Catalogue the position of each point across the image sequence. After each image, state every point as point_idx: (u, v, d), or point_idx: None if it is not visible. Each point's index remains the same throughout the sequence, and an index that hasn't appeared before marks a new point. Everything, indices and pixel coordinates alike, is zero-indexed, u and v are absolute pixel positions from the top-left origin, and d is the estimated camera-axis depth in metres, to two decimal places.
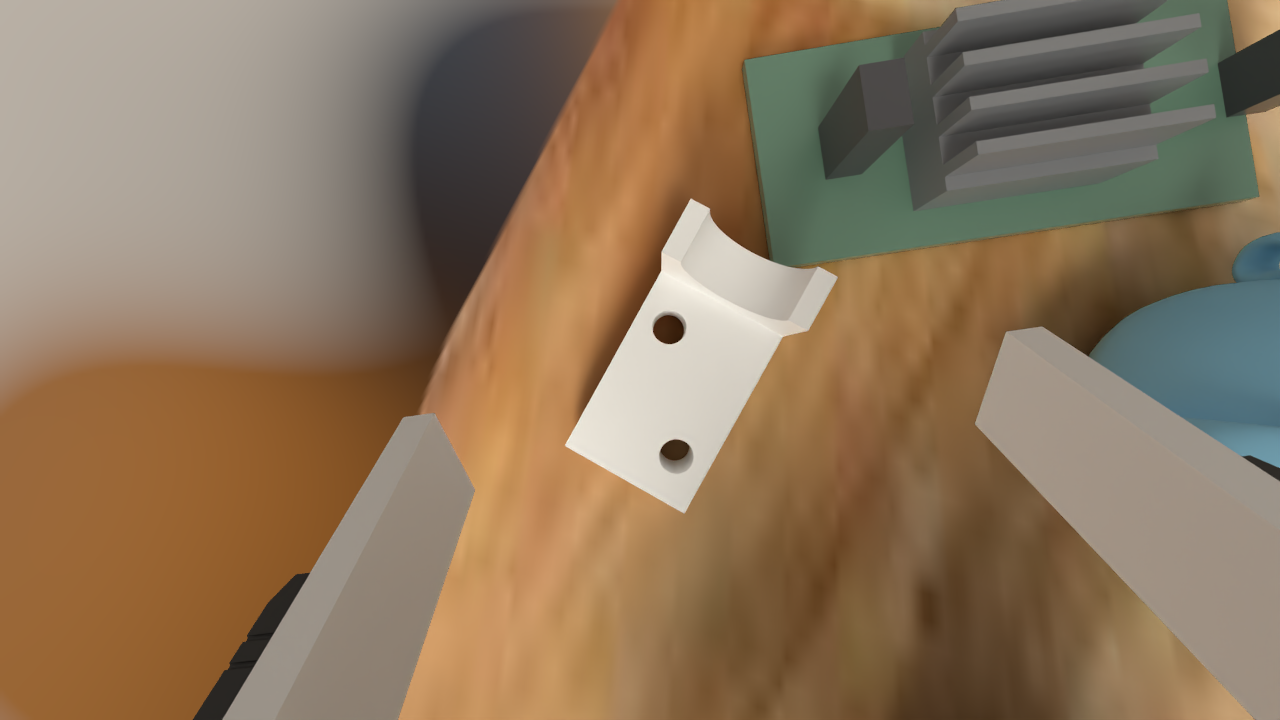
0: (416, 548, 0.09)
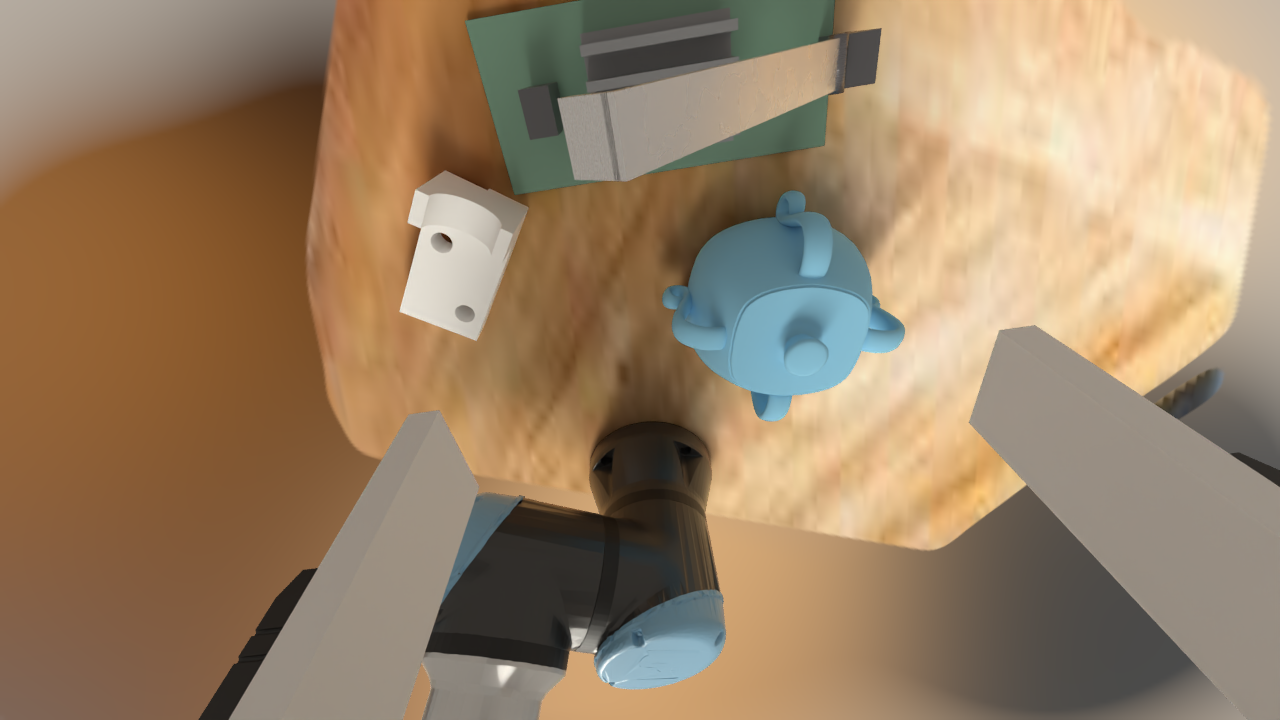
0: (422, 544, 0.09)
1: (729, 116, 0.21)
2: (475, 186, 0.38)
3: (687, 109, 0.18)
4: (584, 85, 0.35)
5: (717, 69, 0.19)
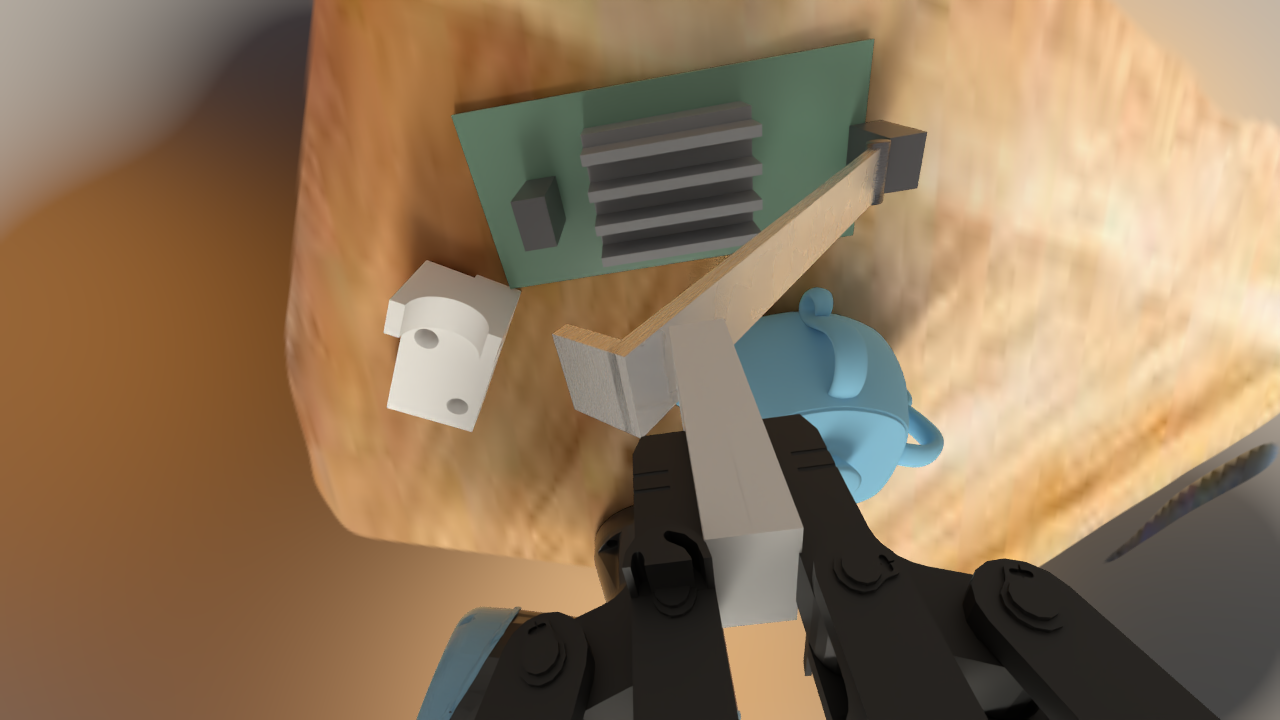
0: None
1: (762, 296, 0.17)
2: (461, 275, 0.34)
3: (714, 318, 0.15)
4: (586, 178, 0.31)
5: (750, 256, 0.15)
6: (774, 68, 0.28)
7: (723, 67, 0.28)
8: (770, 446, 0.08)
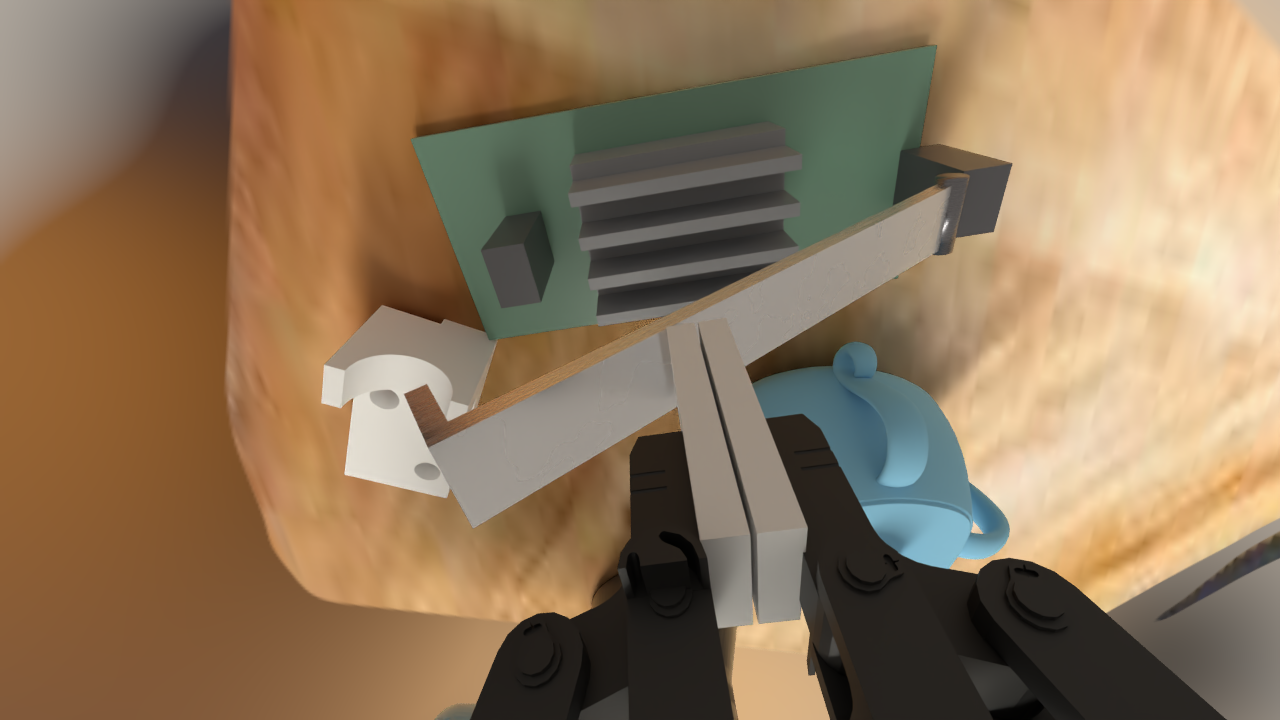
0: None
1: None
2: (423, 322, 0.29)
3: (602, 400, 0.12)
4: (578, 214, 0.26)
5: None
6: (811, 81, 0.22)
7: (748, 80, 0.22)
8: (773, 445, 0.08)
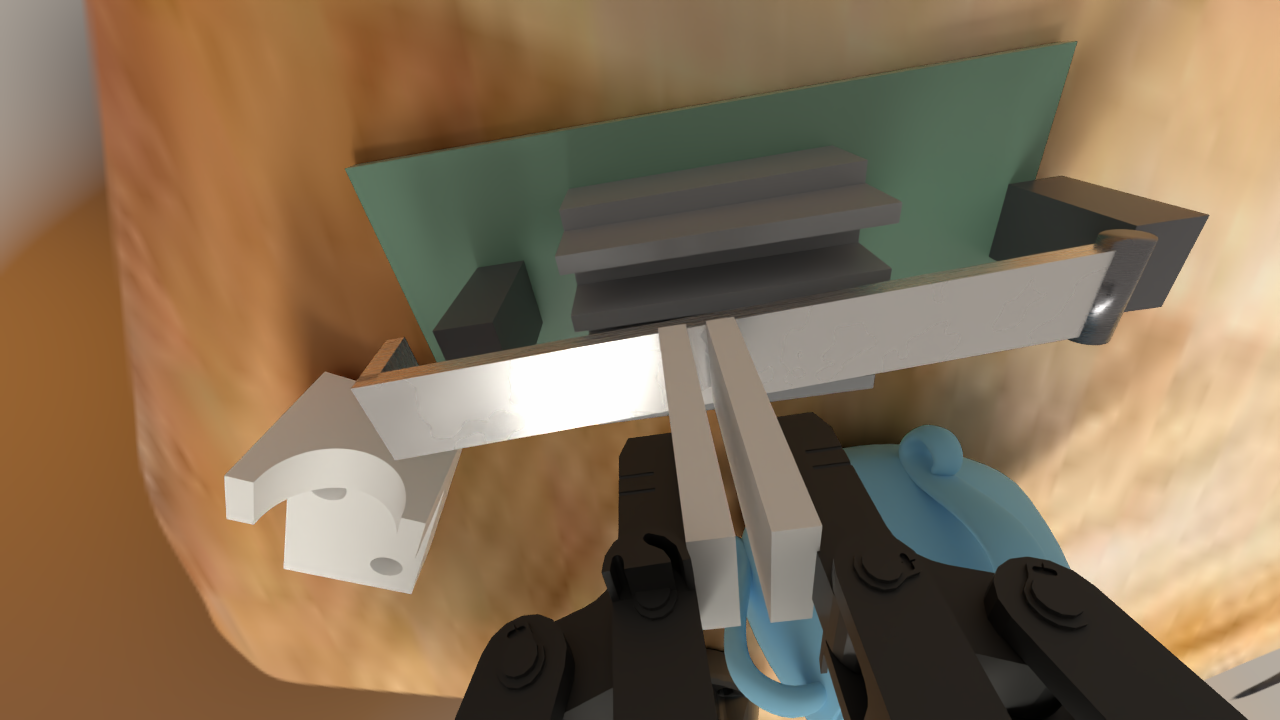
0: None
1: (630, 396, 0.14)
2: None
3: (513, 395, 0.13)
4: None
5: (588, 348, 0.13)
6: (896, 91, 0.16)
7: (808, 90, 0.16)
8: (785, 444, 0.08)
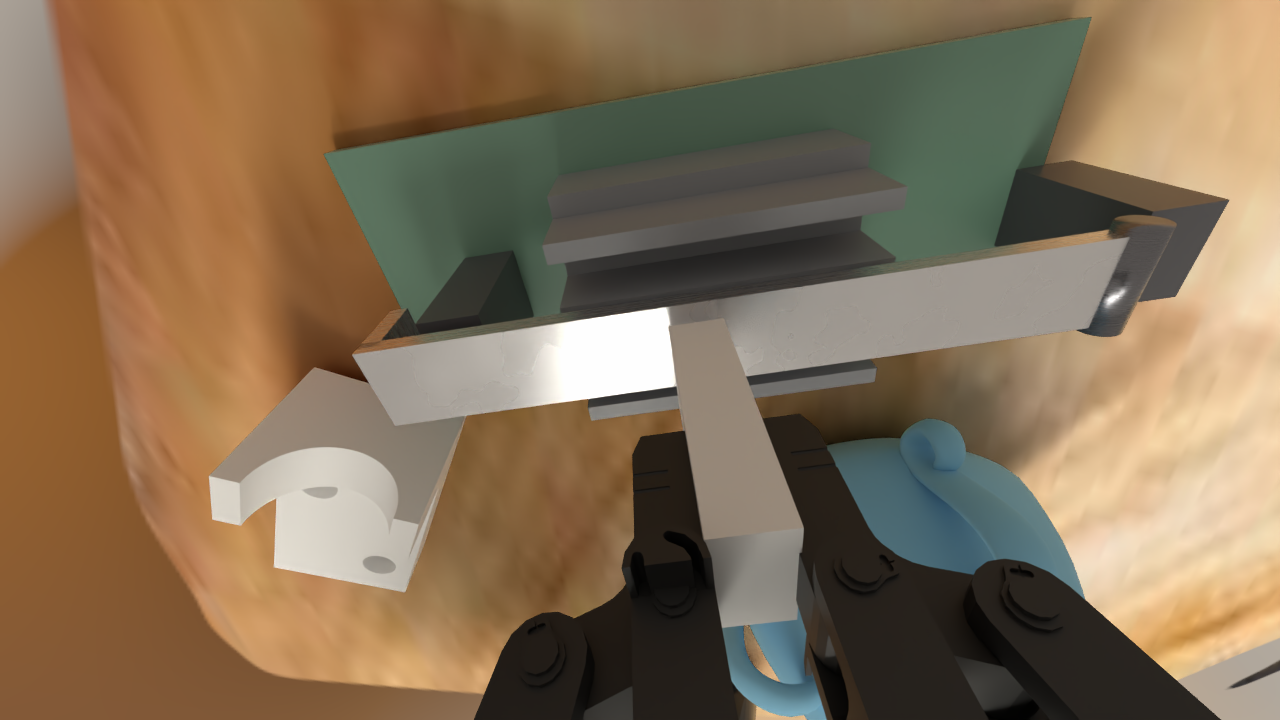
0: None
1: (620, 372, 0.14)
2: (370, 390, 0.22)
3: (505, 366, 0.14)
4: None
5: (578, 323, 0.13)
6: (901, 71, 0.15)
7: (809, 69, 0.15)
8: (770, 446, 0.08)
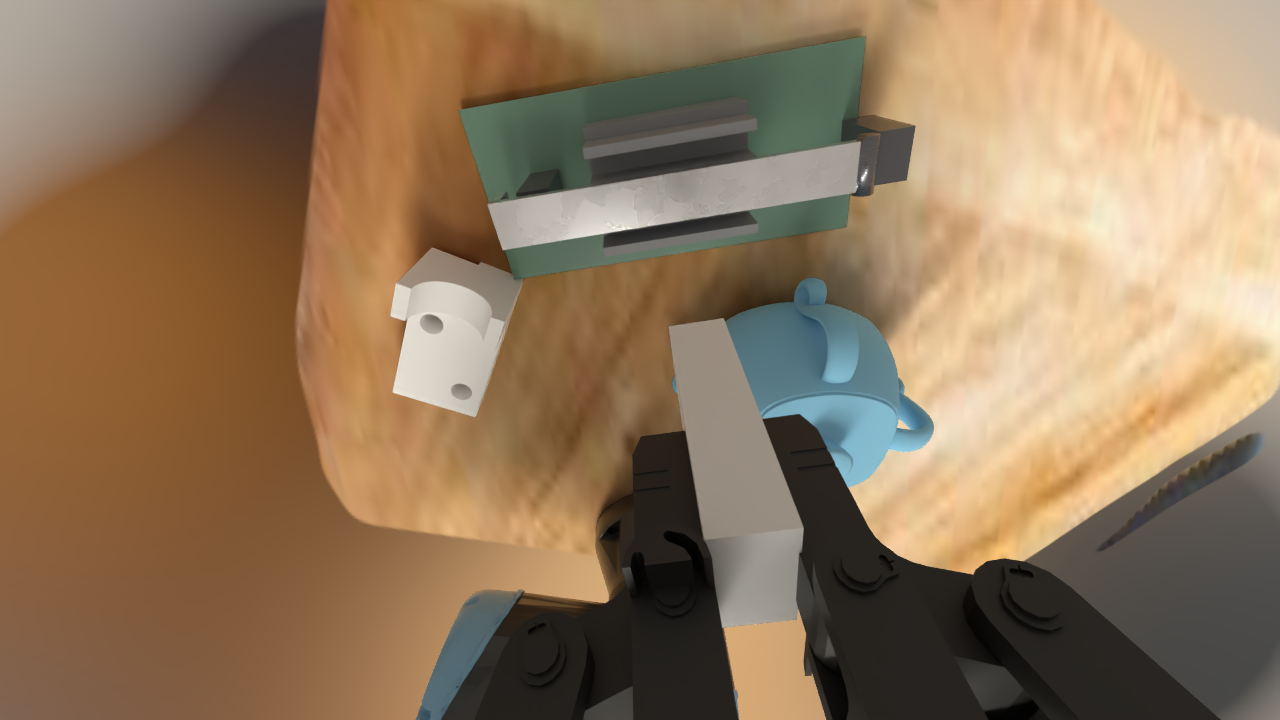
0: None
1: (620, 217, 0.27)
2: (465, 262, 0.35)
3: (562, 212, 0.27)
4: (588, 172, 0.32)
5: (599, 186, 0.26)
6: (769, 65, 0.29)
7: (720, 64, 0.29)
8: (770, 446, 0.08)
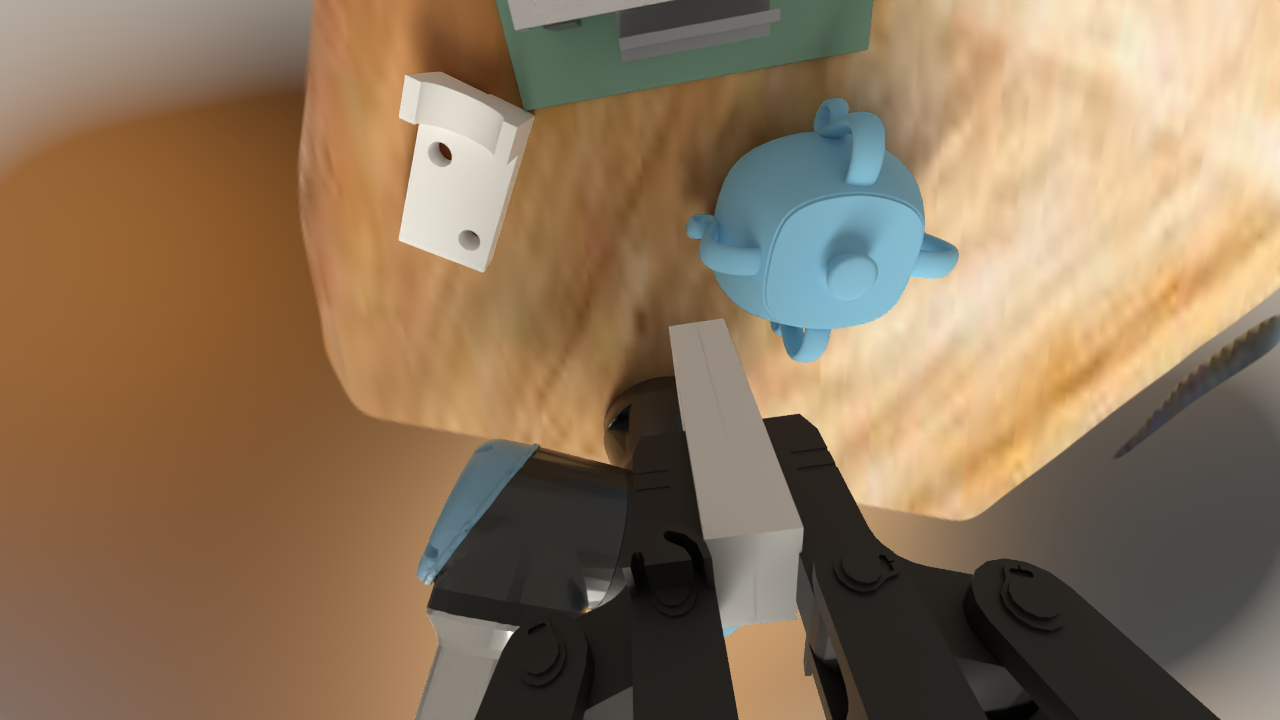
0: None
1: None
2: (475, 89, 0.34)
3: None
4: None
5: None
6: None
7: None
8: (770, 446, 0.08)
